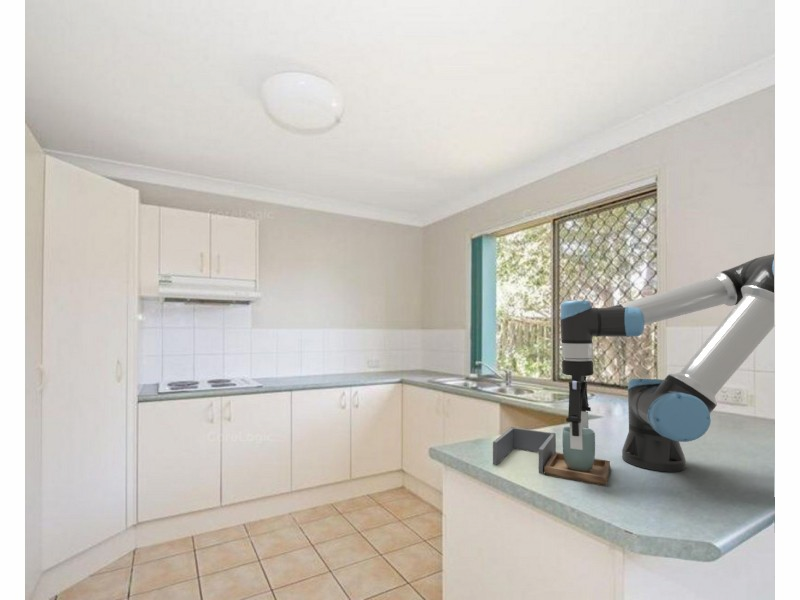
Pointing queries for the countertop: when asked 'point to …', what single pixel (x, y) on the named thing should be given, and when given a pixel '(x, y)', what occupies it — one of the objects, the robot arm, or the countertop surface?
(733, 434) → the countertop surface
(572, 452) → the cup
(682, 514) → the countertop surface
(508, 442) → the bay
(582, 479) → the tray
